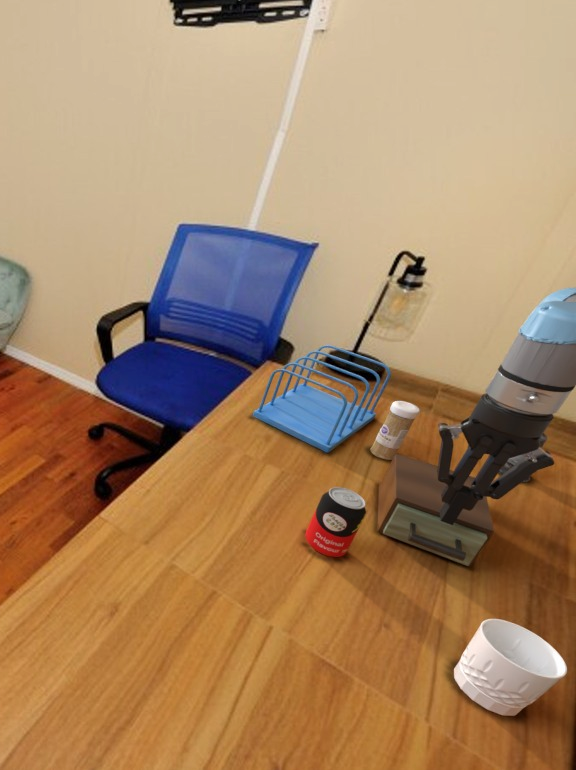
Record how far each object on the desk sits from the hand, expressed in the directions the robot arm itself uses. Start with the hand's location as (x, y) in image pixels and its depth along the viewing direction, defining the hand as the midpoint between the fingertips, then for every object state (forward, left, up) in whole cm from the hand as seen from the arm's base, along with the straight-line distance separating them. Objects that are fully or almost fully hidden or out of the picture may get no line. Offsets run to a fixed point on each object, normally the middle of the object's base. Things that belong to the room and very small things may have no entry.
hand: (445, 518), depth 86 cm
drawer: (0, -6, -9) cm, 11 cm away
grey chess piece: (-16, -41, -10) cm, 45 cm away
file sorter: (+20, -39, -10) cm, 45 cm away
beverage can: (+14, +7, -10) cm, 19 cm away
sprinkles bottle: (+6, -32, -10) cm, 34 cm away
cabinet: (0, -11, -10) cm, 14 cm away
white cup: (-6, +23, -10) cm, 26 cm away
